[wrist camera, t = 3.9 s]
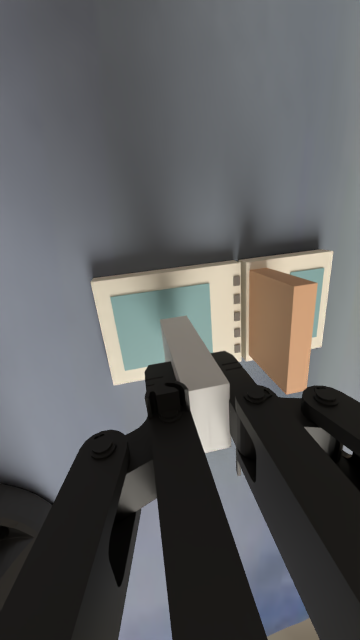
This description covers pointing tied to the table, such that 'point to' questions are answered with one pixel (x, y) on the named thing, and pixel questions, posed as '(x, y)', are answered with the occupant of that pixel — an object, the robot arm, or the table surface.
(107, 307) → the cream tablet with screen
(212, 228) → the table surface
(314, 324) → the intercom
